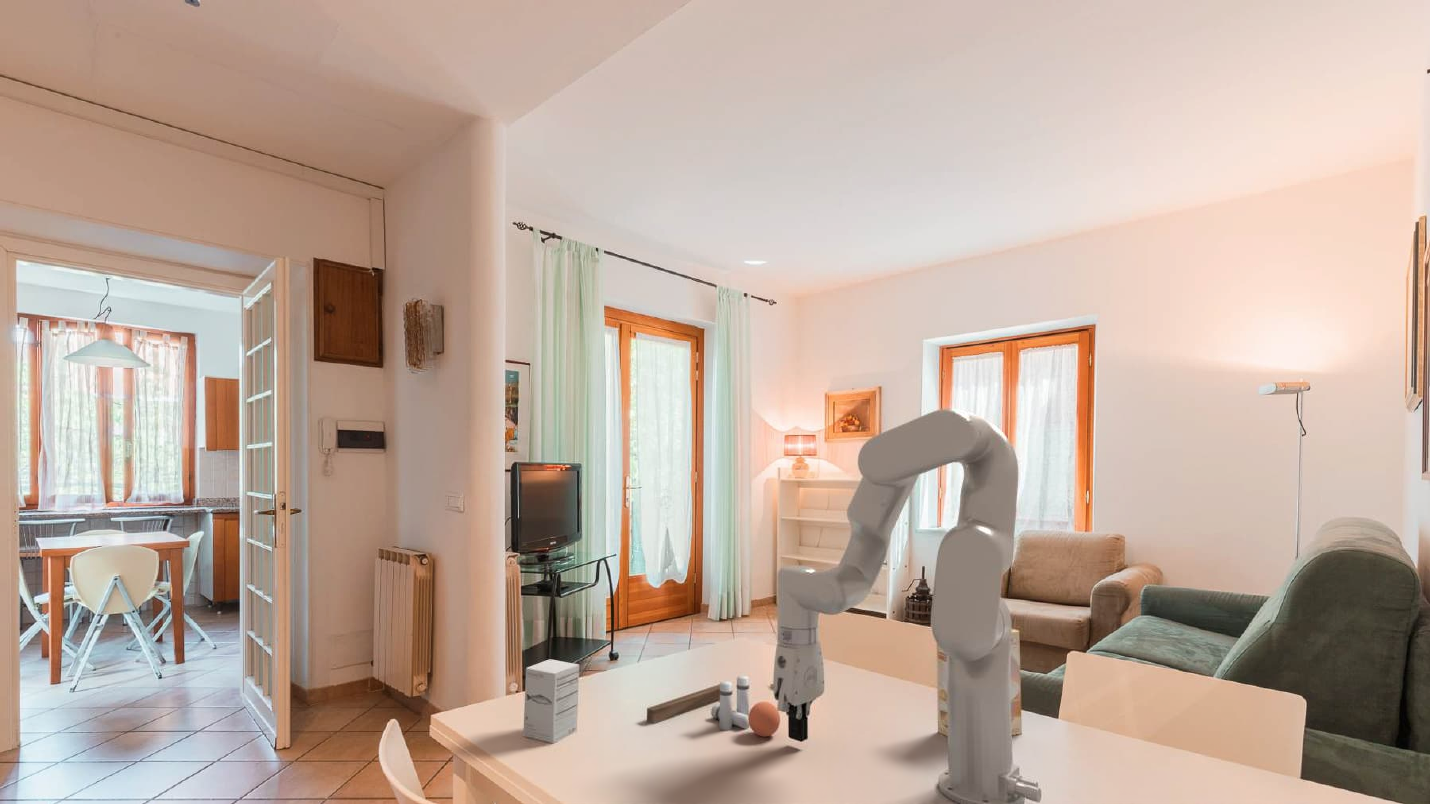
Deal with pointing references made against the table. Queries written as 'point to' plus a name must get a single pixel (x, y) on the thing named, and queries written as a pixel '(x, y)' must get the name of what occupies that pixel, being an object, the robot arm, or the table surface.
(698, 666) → the table surface
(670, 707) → the back wall
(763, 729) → the ball
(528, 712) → the supplement box
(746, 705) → the pin
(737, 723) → the front pin
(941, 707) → the coffeecake box
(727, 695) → the pin
